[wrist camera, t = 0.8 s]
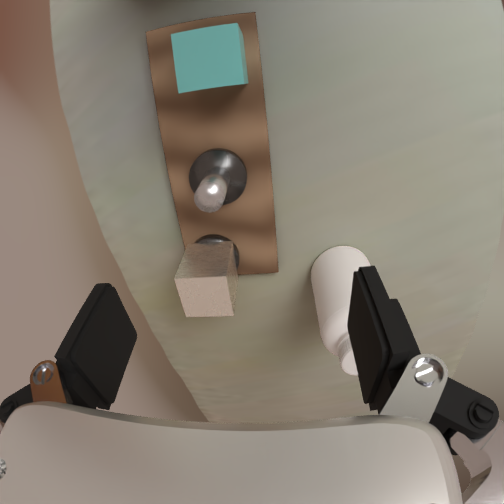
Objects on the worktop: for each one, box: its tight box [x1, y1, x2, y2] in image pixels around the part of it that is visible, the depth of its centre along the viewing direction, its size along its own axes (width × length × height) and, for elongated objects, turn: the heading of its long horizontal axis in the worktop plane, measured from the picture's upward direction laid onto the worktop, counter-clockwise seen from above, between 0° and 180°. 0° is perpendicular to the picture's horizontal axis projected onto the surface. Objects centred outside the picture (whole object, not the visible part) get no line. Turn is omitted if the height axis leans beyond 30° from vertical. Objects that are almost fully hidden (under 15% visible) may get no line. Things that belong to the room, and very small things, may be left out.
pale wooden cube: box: [174, 234, 240, 317], centre depth 34 cm, size 6×6×8 cm
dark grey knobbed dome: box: [189, 148, 247, 213], centre depth 29 cm, size 6×6×7 cm
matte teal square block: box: [171, 23, 248, 93], centre depth 22 cm, size 5×5×7 cm
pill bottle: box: [311, 246, 371, 375], centre depth 32 cm, size 8×8×15 cm
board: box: [146, 12, 278, 275], centre depth 31 cm, size 30×11×1 cm, turn 6°
